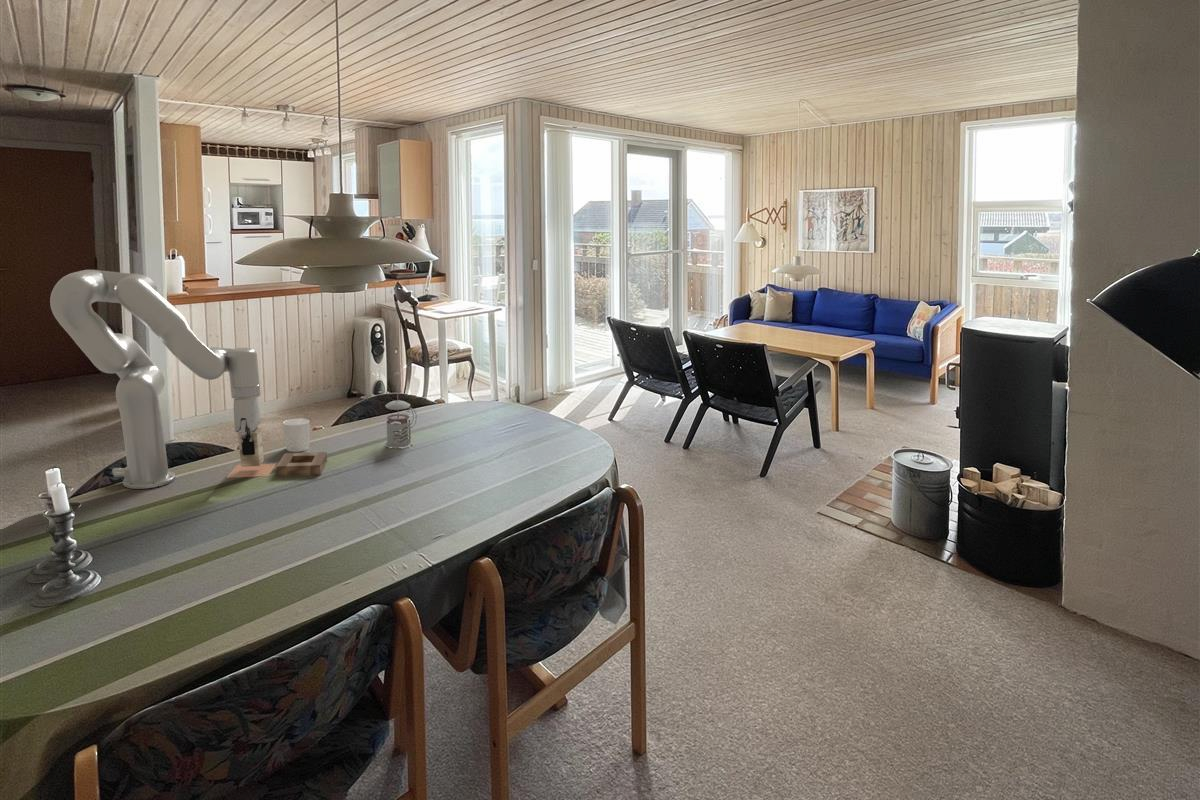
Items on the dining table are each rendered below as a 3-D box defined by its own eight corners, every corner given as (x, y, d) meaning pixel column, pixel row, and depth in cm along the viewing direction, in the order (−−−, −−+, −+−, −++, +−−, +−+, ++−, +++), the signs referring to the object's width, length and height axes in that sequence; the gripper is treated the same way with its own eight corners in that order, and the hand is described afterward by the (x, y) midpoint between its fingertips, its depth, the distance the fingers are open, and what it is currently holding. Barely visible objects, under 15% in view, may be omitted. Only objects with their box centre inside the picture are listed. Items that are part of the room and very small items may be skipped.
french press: (378, 444, 244) (375, 371, 237) (407, 437, 252) (405, 367, 246) (395, 450, 237) (392, 376, 231) (424, 443, 246) (422, 371, 240)
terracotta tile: (226, 480, 206) (226, 477, 206) (237, 467, 217) (237, 464, 217) (268, 479, 209) (267, 476, 208) (276, 466, 219) (276, 463, 219)
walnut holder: (277, 479, 209) (276, 466, 208) (285, 465, 220) (284, 453, 219) (321, 478, 211) (320, 465, 210) (327, 464, 222) (326, 452, 222)
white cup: (316, 450, 235) (314, 421, 232) (294, 456, 228) (292, 426, 226) (301, 446, 239) (299, 416, 236) (279, 451, 232) (277, 422, 230)
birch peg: (241, 466, 209) (237, 433, 207) (245, 461, 214) (242, 428, 211) (259, 466, 210) (256, 433, 208) (263, 460, 215) (260, 428, 212)
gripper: (239, 384, 214) (245, 443, 218) (222, 398, 198) (229, 461, 202) (266, 384, 215) (271, 442, 220) (252, 398, 199) (258, 460, 204)
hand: (251, 450), depth 211 cm, fingers closed on birch peg, 4 cm apart
